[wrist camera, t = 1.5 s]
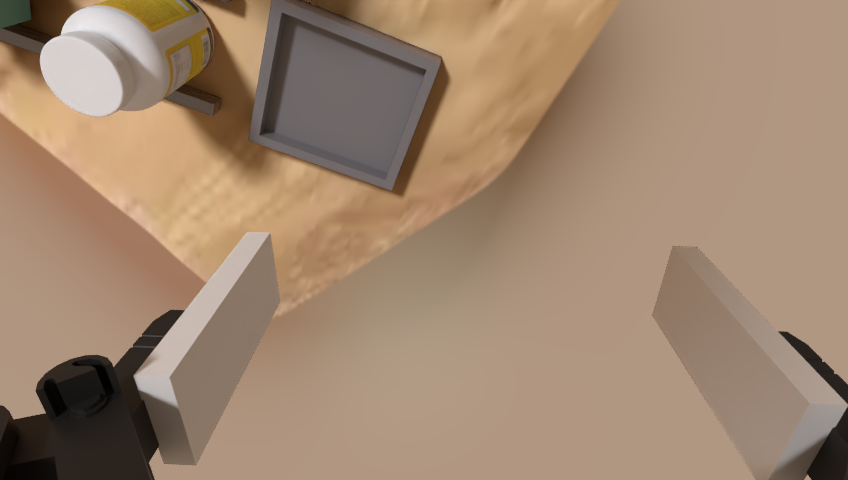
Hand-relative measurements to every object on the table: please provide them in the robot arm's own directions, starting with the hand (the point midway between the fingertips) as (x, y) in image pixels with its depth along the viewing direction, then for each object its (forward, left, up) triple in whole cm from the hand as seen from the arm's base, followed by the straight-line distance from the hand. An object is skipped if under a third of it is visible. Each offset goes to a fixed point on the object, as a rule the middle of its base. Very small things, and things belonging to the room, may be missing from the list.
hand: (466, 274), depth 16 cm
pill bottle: (+6, -21, -26) cm, 34 cm away
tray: (+6, -8, -26) cm, 28 cm away
